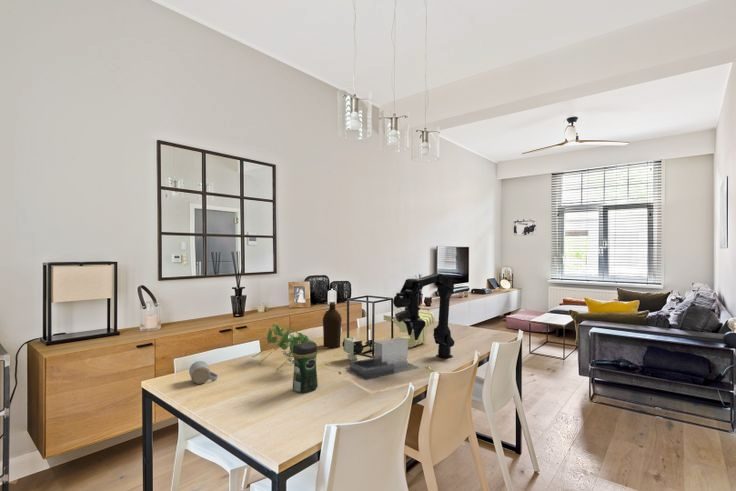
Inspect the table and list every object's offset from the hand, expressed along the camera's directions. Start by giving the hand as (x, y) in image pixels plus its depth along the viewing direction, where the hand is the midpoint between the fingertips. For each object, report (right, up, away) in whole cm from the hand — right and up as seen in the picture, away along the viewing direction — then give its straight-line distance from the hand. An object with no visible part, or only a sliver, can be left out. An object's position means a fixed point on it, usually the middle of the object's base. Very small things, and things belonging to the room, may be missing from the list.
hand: (412, 337), depth 177 cm
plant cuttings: (-62, -13, -2) cm, 64 cm away
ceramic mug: (-91, -13, -22) cm, 94 cm away
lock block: (-11, -12, -4) cm, 17 cm away
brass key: (+7, -14, -8) cm, 17 cm away
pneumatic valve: (-29, -14, +6) cm, 32 cm away
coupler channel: (-15, -13, -6) cm, 21 cm away
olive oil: (-42, -13, +33) cm, 55 cm away
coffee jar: (-47, -13, -30) cm, 57 cm away
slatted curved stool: (+3, -14, +41) cm, 43 cm away
